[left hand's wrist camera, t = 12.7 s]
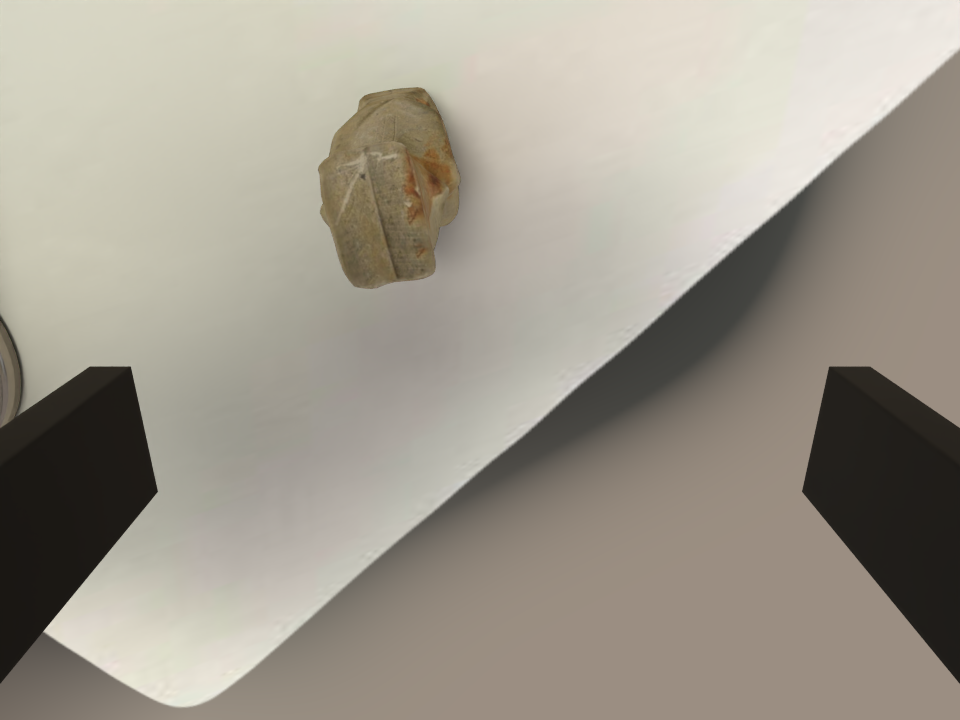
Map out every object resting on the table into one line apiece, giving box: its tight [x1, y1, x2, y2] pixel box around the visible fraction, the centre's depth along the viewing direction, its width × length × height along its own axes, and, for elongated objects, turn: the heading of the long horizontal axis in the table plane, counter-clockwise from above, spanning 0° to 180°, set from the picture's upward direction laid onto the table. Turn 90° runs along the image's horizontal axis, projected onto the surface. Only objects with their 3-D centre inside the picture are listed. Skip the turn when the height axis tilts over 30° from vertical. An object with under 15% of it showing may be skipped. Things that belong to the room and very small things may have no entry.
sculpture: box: [318, 87, 461, 289], centre depth 29 cm, size 6×7×15 cm
